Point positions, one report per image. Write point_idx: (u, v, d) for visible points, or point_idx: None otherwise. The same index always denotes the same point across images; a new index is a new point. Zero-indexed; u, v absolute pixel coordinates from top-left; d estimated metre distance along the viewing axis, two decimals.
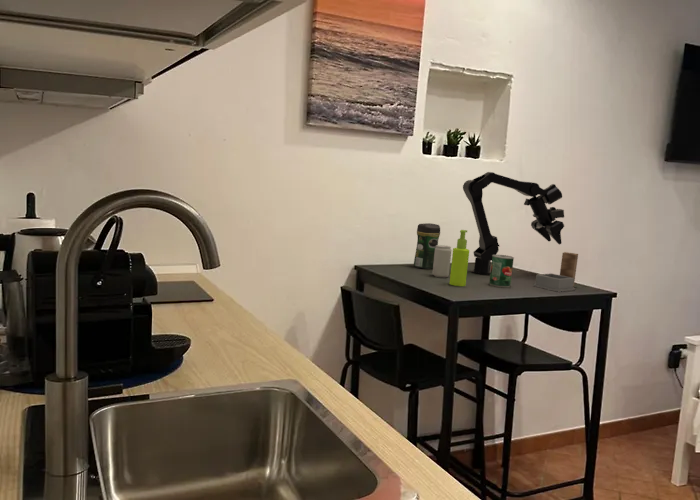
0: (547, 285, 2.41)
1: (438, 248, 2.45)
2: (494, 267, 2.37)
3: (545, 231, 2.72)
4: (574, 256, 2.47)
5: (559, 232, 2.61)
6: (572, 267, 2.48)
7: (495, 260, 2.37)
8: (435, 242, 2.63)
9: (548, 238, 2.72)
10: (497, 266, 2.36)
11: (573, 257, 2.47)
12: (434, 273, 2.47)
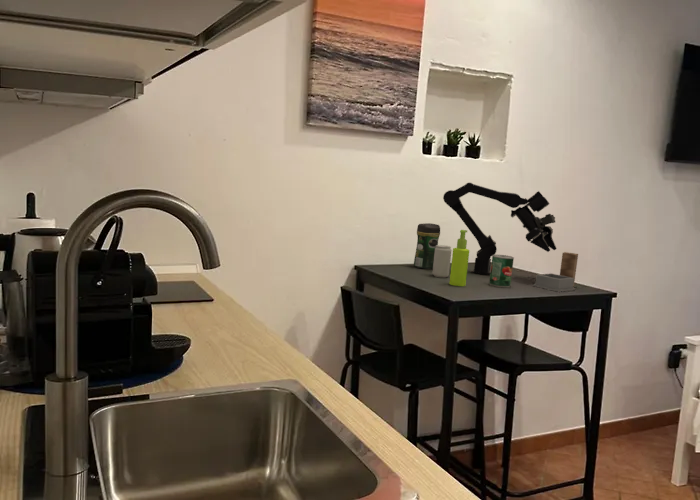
0: (547, 285, 2.41)
1: (438, 248, 2.45)
2: (494, 267, 2.37)
3: (548, 240, 2.59)
4: (574, 256, 2.47)
5: (542, 239, 2.49)
6: (572, 267, 2.48)
7: (495, 260, 2.37)
8: (435, 242, 2.63)
9: (552, 247, 2.57)
10: (497, 266, 2.36)
11: (573, 257, 2.47)
12: (434, 273, 2.47)
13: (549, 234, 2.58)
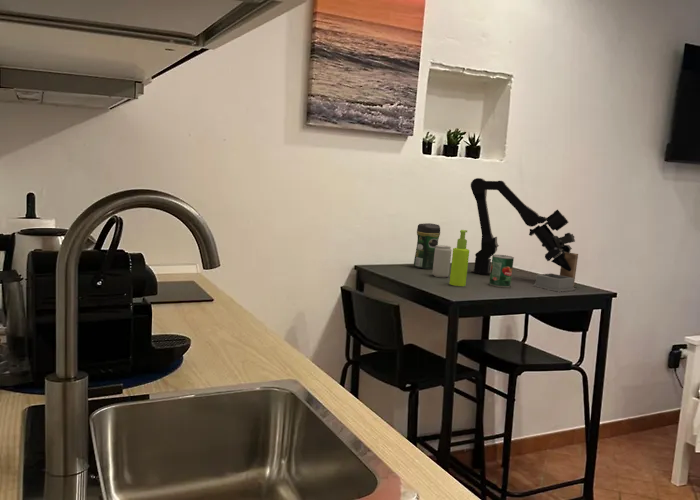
0: (547, 285, 2.41)
1: (438, 248, 2.45)
2: (494, 267, 2.37)
3: None
4: (574, 256, 2.47)
5: (563, 258, 2.47)
6: (572, 267, 2.48)
7: (495, 260, 2.37)
8: (435, 242, 2.63)
9: None
10: (497, 266, 2.36)
11: (573, 257, 2.47)
12: (434, 273, 2.47)
13: None
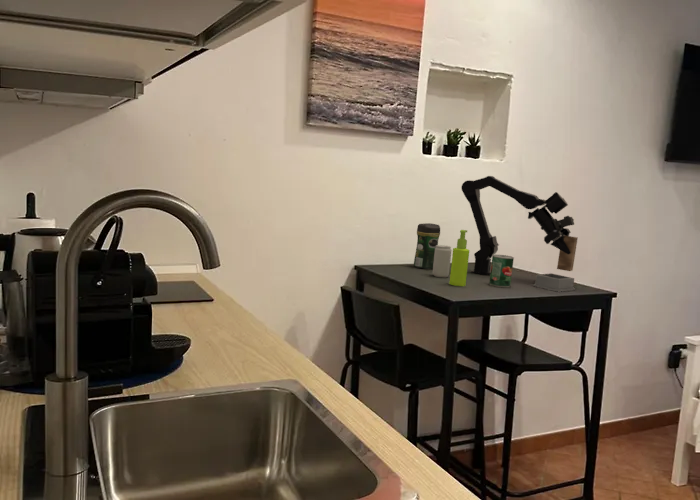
0: (547, 285, 2.41)
1: (438, 248, 2.45)
2: (494, 267, 2.37)
3: None
4: (573, 239, 2.44)
5: (562, 241, 2.45)
6: (571, 250, 2.45)
7: (495, 260, 2.37)
8: (435, 242, 2.63)
9: None
10: (497, 266, 2.36)
11: (572, 240, 2.45)
12: (434, 273, 2.47)
13: None
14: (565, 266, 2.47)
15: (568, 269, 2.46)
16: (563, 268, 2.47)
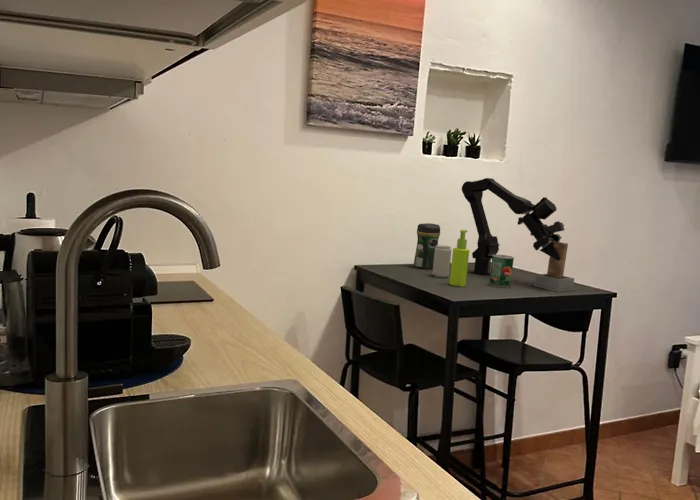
0: (547, 285, 2.41)
1: (438, 248, 2.45)
2: (494, 267, 2.37)
3: None
4: (563, 245, 2.39)
5: (552, 247, 2.40)
6: (561, 257, 2.40)
7: (495, 260, 2.37)
8: (435, 242, 2.63)
9: None
10: (497, 266, 2.36)
11: (562, 246, 2.39)
12: (434, 273, 2.47)
13: None
14: (555, 273, 2.41)
15: (558, 276, 2.41)
16: (553, 275, 2.42)
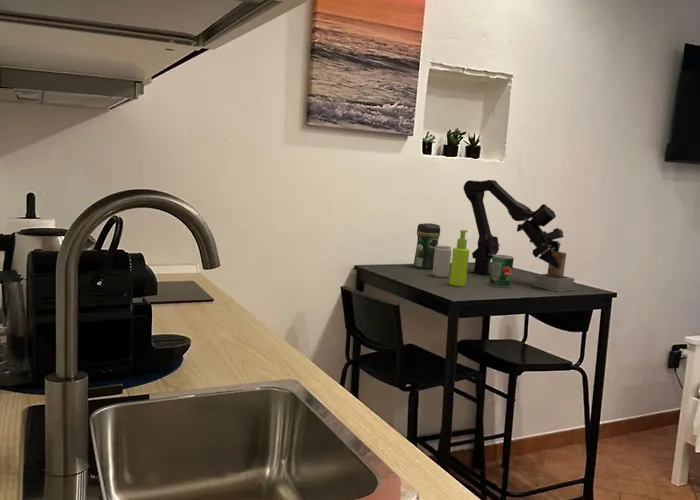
0: (547, 285, 2.41)
1: (438, 248, 2.45)
2: (494, 267, 2.37)
3: None
4: (562, 255, 2.40)
5: (550, 255, 2.39)
6: (560, 266, 2.40)
7: (495, 260, 2.37)
8: (435, 242, 2.63)
9: None
10: (497, 266, 2.36)
11: (561, 256, 2.40)
12: (434, 273, 2.47)
13: (556, 249, 2.46)
14: None
15: None
16: None
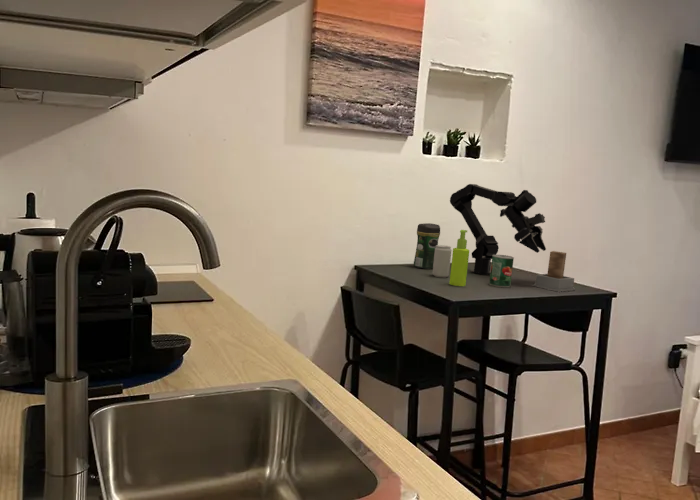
0: (547, 285, 2.41)
1: (438, 248, 2.45)
2: (494, 267, 2.37)
3: (538, 240, 2.51)
4: (562, 255, 2.40)
5: (531, 239, 2.41)
6: (560, 266, 2.40)
7: (495, 260, 2.37)
8: (435, 242, 2.63)
9: (542, 247, 2.50)
10: (497, 266, 2.36)
11: (561, 256, 2.40)
12: (434, 273, 2.47)
13: (539, 234, 2.51)
14: None
15: None
16: None
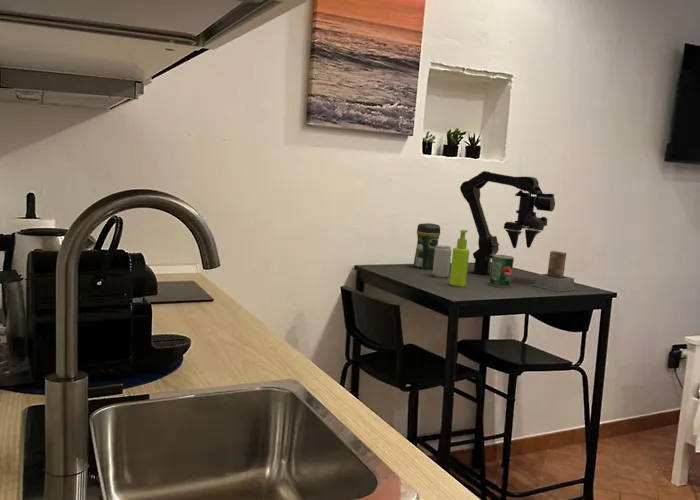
0: (547, 285, 2.41)
1: (438, 248, 2.45)
2: (494, 267, 2.37)
3: (530, 236, 2.56)
4: (562, 255, 2.40)
5: (515, 235, 2.48)
6: (560, 266, 2.40)
7: (495, 260, 2.37)
8: (435, 242, 2.63)
9: (528, 244, 2.57)
10: (497, 266, 2.36)
11: (561, 256, 2.40)
12: (434, 273, 2.47)
13: (534, 232, 2.55)
14: None
15: None
16: None
